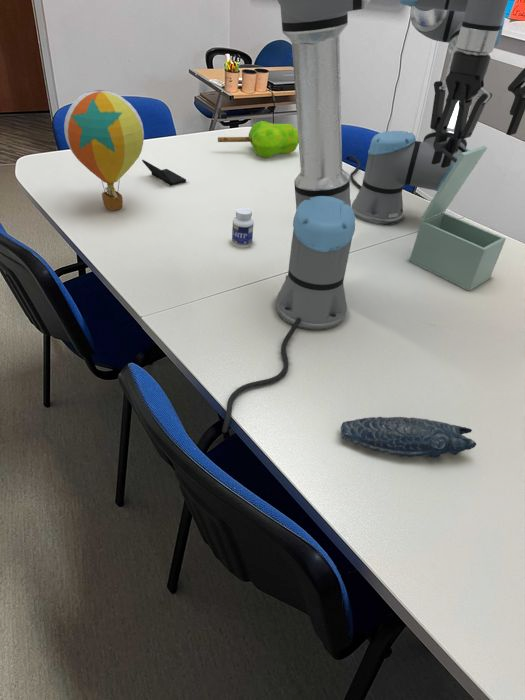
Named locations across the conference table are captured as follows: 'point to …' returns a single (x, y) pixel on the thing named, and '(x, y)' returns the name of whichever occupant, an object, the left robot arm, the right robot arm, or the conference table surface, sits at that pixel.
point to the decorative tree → (269, 139)
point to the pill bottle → (242, 228)
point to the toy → (105, 138)
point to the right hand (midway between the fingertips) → (440, 164)
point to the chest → (456, 250)
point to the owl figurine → (407, 436)
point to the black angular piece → (165, 175)
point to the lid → (453, 177)
